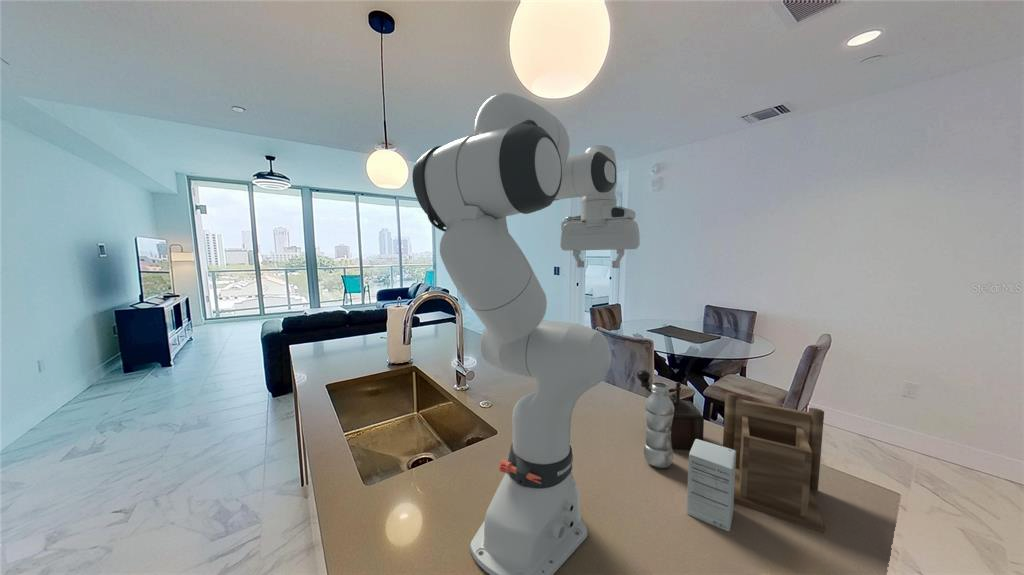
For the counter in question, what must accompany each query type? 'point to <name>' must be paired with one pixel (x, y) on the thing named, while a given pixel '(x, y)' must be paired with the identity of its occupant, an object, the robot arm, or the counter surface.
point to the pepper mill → (680, 417)
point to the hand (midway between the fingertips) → (597, 267)
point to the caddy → (775, 458)
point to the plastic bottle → (659, 426)
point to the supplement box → (711, 483)
